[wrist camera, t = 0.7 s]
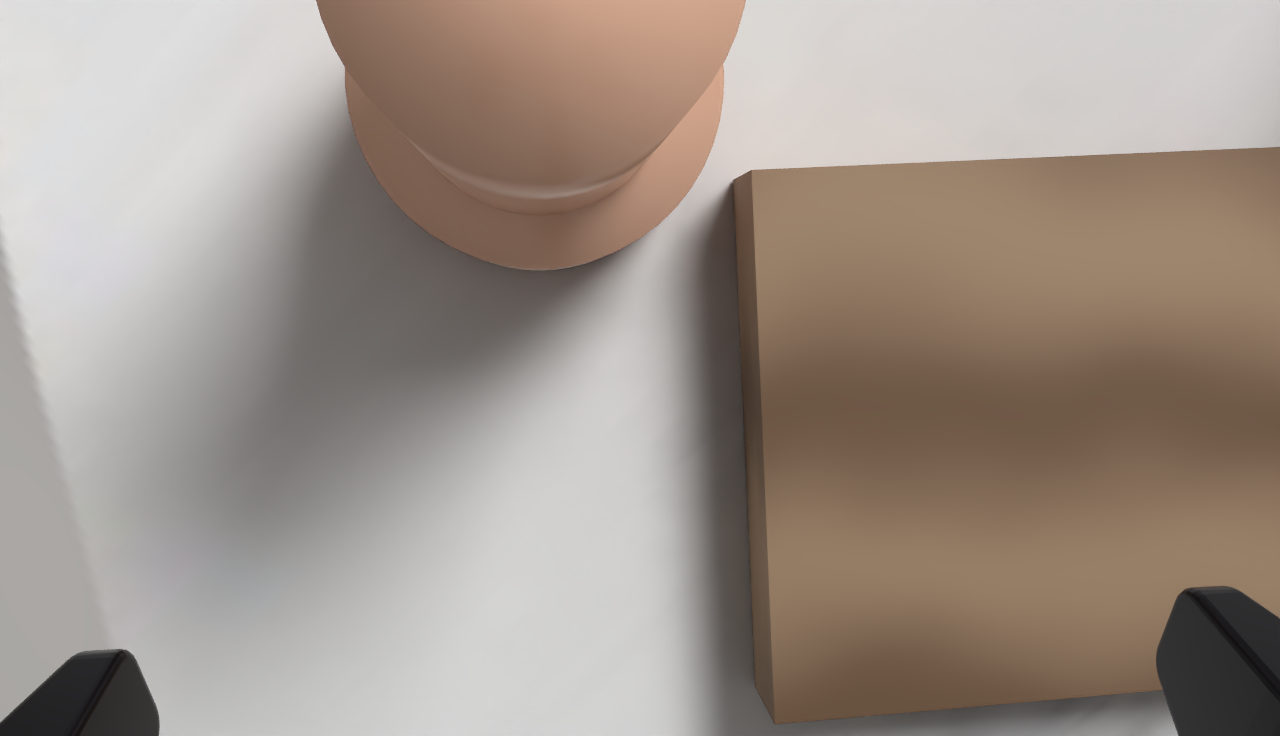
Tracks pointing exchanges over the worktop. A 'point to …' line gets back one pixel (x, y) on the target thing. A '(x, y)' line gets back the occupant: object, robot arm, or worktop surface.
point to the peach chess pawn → (534, 115)
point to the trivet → (1003, 420)
